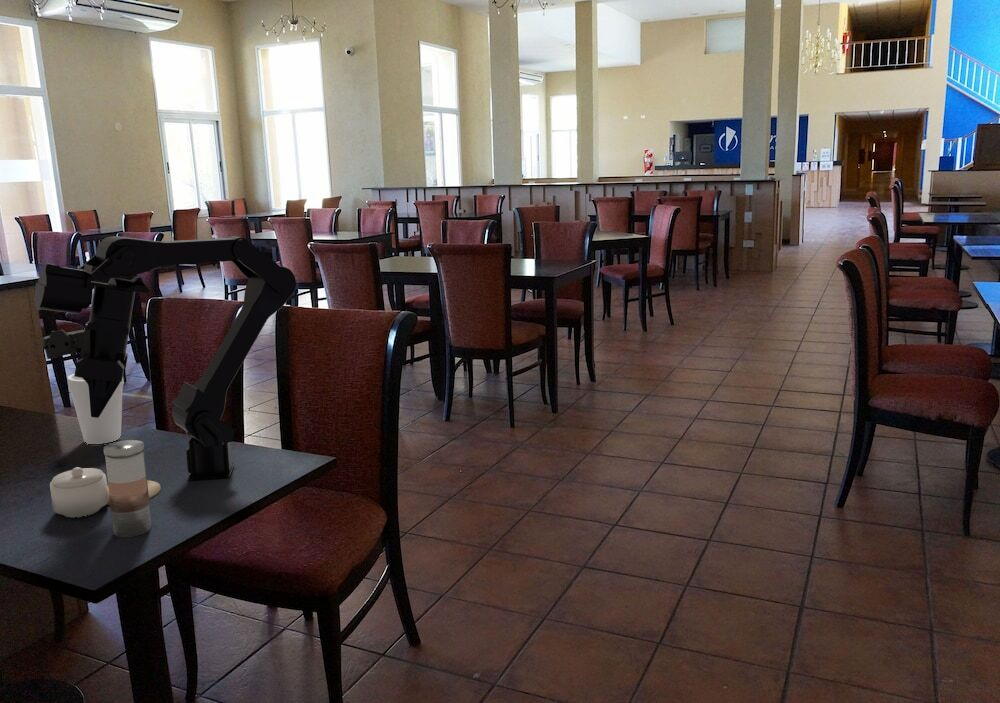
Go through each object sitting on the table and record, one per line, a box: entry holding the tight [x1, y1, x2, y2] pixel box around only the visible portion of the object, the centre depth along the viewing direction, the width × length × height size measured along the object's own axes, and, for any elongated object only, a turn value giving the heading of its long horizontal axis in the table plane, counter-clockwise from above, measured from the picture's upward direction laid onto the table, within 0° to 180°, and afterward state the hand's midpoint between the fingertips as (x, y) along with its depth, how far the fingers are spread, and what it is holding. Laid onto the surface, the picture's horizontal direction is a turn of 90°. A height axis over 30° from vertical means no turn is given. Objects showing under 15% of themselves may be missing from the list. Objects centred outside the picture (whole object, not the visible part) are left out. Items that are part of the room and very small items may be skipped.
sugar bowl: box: [49, 466, 109, 519], centre depth 122 cm, size 8×8×7 cm
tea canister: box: [103, 439, 152, 538], centre depth 115 cm, size 5×5×13 cm
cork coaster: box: [105, 479, 162, 507], centre depth 129 cm, size 10×10×1 cm
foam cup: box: [67, 373, 125, 445], centre depth 154 cm, size 10×9×13 cm
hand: (94, 417), depth 124 cm, fingers closed
